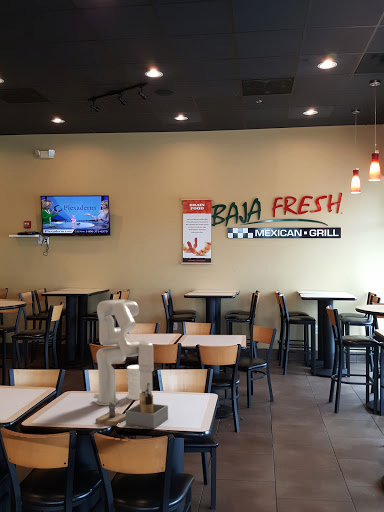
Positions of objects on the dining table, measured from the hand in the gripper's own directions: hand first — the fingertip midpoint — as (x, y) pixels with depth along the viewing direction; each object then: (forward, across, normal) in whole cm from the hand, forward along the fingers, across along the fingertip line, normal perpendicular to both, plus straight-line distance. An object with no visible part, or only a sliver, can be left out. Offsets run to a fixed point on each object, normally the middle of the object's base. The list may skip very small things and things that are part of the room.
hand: (146, 401), depth 246 cm
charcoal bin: (+10, 0, 0) cm, 10 cm away
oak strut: (+9, -1, 0) cm, 9 cm away
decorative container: (+10, -47, +3) cm, 48 cm away
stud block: (+10, -8, -16) cm, 21 cm away
